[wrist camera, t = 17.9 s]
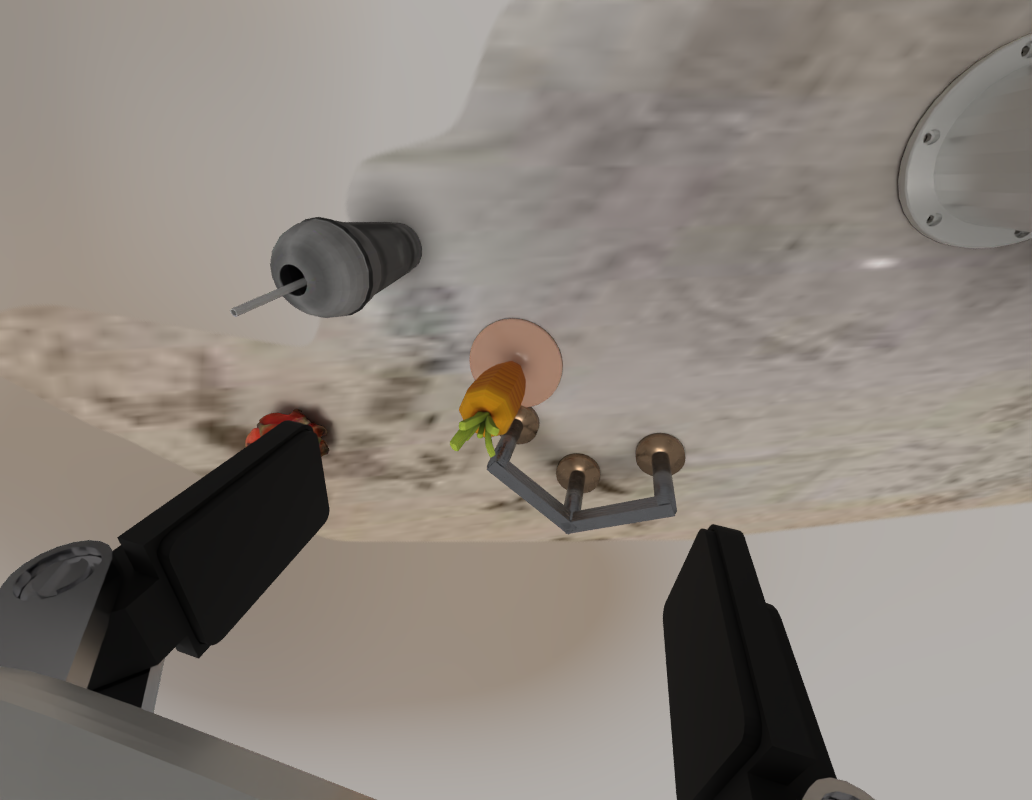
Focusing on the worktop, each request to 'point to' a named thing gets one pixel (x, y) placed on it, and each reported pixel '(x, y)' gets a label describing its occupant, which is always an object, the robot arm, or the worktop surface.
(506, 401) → the carrot
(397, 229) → the beverage cup
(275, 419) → the dragon fruit
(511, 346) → the terracotta coaster
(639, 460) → the grey cabinet handle
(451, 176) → the worktop surface
